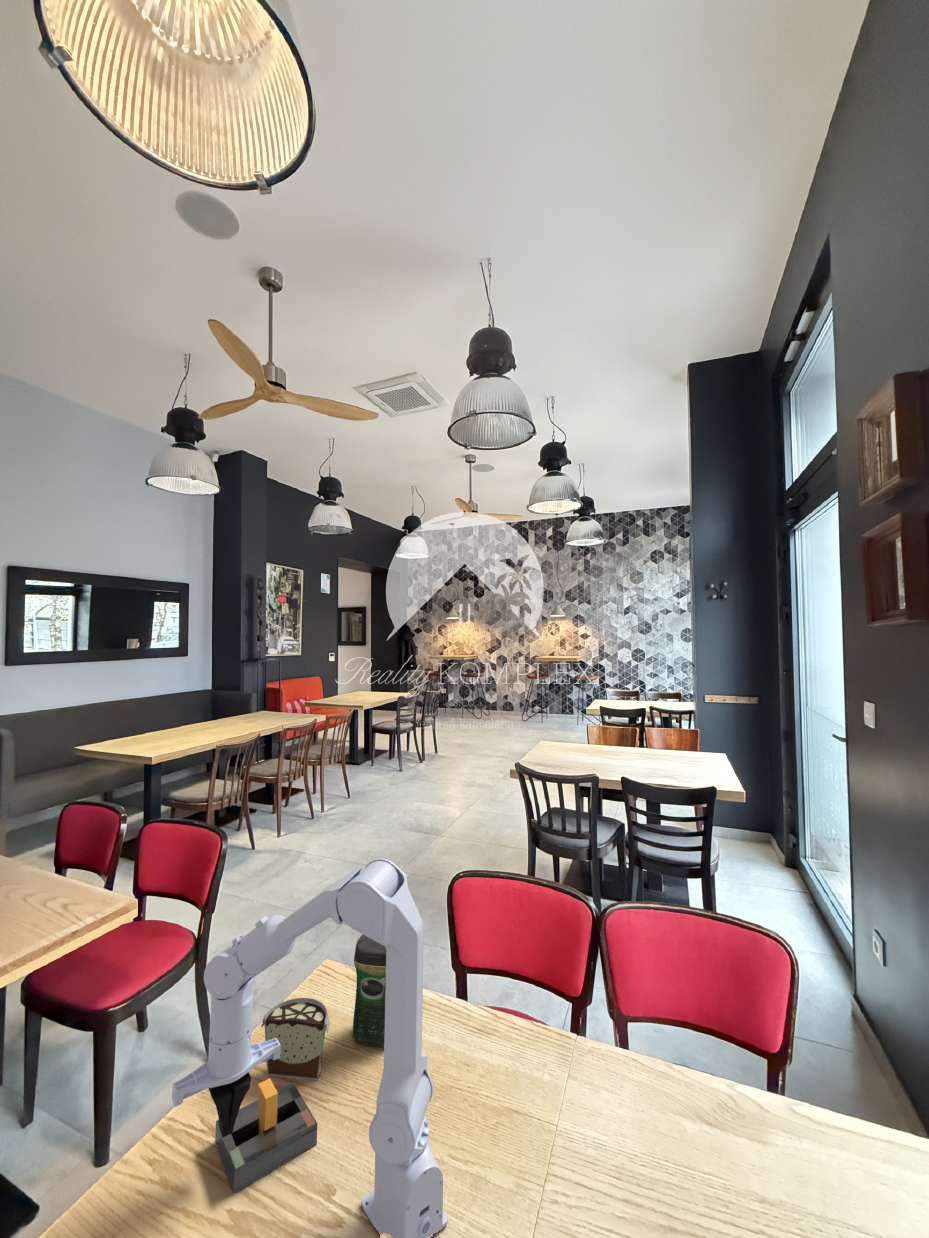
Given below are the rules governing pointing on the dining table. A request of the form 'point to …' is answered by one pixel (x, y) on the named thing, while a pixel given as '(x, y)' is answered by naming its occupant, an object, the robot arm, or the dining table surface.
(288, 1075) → the food container
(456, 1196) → the dining table surface
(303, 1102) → the switch box
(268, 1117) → the lever
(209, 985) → the robot arm
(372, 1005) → the coffee jar
